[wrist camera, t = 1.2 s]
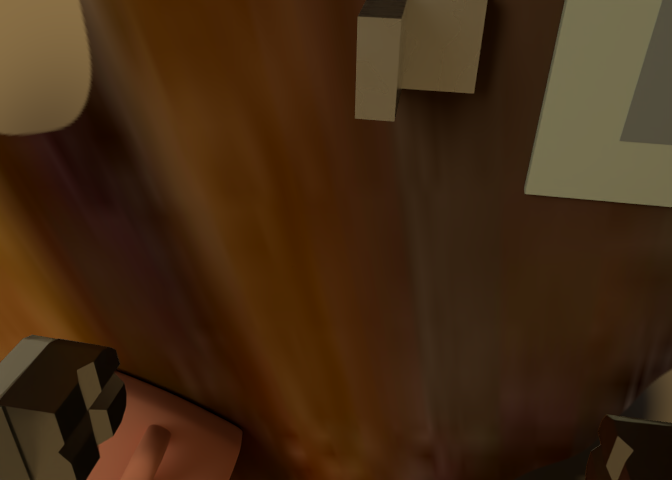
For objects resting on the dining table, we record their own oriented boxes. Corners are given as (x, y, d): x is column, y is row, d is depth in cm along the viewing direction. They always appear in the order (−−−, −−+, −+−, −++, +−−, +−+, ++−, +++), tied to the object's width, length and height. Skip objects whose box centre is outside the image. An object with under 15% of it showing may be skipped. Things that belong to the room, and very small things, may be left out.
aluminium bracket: (373, -14, 32) (357, 16, 28) (486, -9, 32) (491, 23, 27) (369, 76, 35) (354, 118, 30) (473, 83, 34) (475, 127, 30)
